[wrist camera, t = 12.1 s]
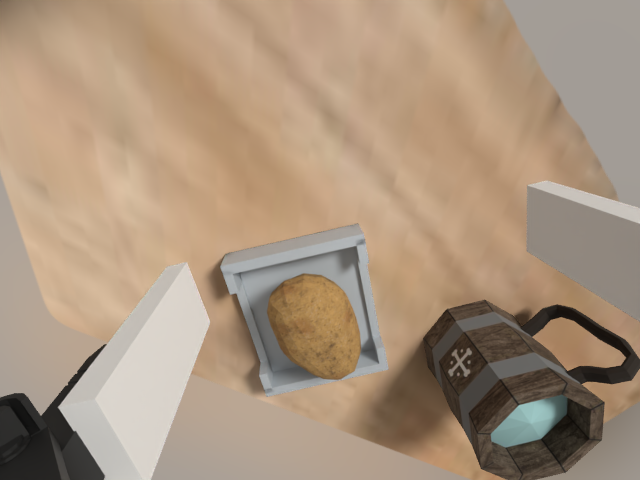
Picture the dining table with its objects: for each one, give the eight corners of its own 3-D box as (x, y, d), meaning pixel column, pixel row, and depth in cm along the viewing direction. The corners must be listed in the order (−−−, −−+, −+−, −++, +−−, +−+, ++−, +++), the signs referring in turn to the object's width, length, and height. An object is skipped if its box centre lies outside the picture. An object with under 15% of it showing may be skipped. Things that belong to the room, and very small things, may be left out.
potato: (309, 362, 47) (312, 410, 40) (251, 282, 42) (242, 320, 35) (373, 329, 46) (389, 372, 39) (321, 243, 41) (327, 274, 34)
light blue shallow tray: (225, 253, 41) (220, 266, 38) (358, 223, 41) (363, 233, 38) (268, 377, 48) (266, 396, 45) (382, 351, 48) (388, 369, 45)
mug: (450, 395, 52) (508, 501, 38) (403, 336, 48) (449, 432, 34) (572, 324, 49) (683, 411, 35) (534, 253, 44) (644, 321, 31)
